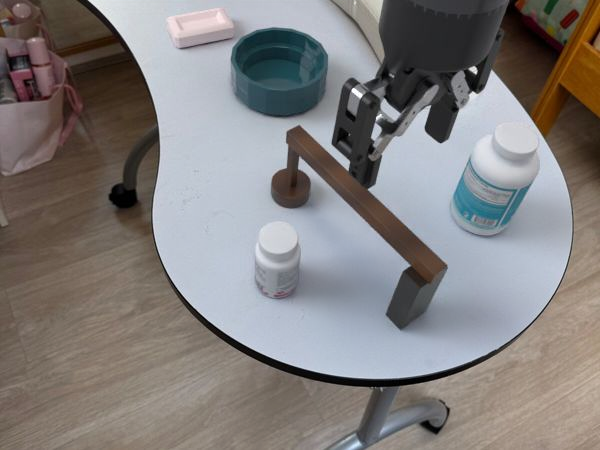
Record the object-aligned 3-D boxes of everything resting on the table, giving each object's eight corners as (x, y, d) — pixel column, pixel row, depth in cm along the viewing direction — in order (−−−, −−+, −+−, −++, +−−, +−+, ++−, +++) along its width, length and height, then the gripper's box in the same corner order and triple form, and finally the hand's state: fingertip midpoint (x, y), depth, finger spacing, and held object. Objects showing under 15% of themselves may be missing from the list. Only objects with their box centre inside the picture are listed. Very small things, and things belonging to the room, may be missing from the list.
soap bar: (235, 38, 89) (234, 25, 88) (177, 50, 87) (175, 36, 85) (223, 18, 92) (223, 4, 90) (167, 29, 90) (165, 15, 88)
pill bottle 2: (489, 185, 75) (530, 106, 65) (519, 230, 71) (567, 155, 61) (437, 197, 74) (470, 118, 63) (465, 244, 70) (504, 169, 59)
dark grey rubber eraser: (384, 314, 63) (402, 271, 56) (410, 295, 65) (431, 250, 58) (400, 330, 62) (419, 288, 55) (426, 310, 64) (448, 267, 57)
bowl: (338, 74, 86) (342, 46, 82) (300, 130, 79) (303, 102, 75) (258, 45, 89) (259, 17, 85) (215, 97, 82) (213, 69, 78)
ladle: (263, 189, 73) (264, 126, 64) (293, 172, 74) (299, 109, 66) (399, 334, 62) (423, 283, 53) (430, 310, 64) (458, 257, 55)
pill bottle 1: (300, 266, 66) (306, 222, 60) (293, 302, 64) (298, 261, 57) (259, 258, 67) (260, 214, 60) (250, 294, 64) (250, 252, 57)
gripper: (413, 47, 31) (367, 229, 44) (573, -34, 36) (490, 147, 50) (321, -19, 34) (304, 168, 47) (481, -85, 40) (426, 98, 53)
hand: (400, 157), depth 48 cm, fingers open, 8 cm apart
